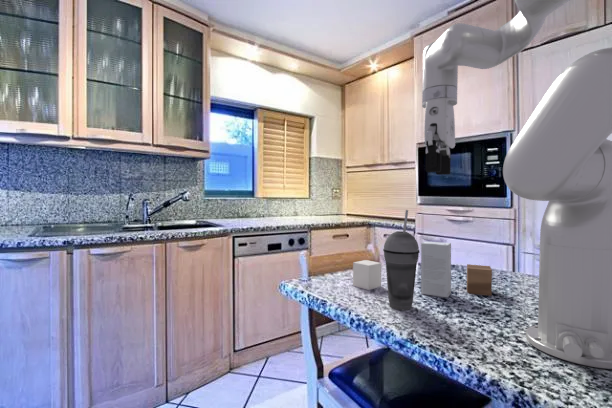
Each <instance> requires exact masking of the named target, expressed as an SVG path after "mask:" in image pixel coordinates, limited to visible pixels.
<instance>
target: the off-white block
mask: <svg viewBox="0 0 612 408" xmlns="http://www.w3.org/2000/svg"><path fill="white" fill-rule="evenodd" d="M352 286H353V287H357V288H360V289H364V290H367V291H370V290H373V289H377V288H380V287H382V262H377V261H372V260H368V259H363V260H359V261H353V262H352Z"/></svg>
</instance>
